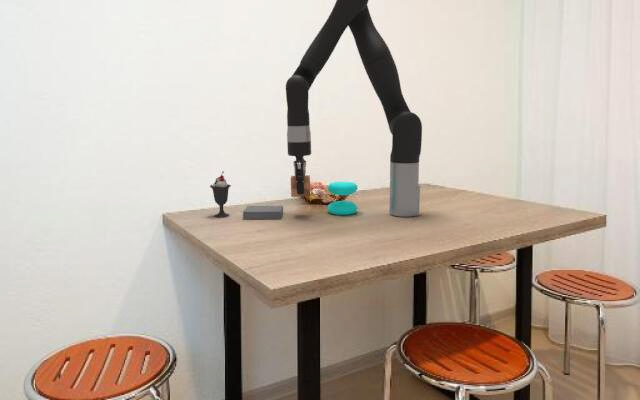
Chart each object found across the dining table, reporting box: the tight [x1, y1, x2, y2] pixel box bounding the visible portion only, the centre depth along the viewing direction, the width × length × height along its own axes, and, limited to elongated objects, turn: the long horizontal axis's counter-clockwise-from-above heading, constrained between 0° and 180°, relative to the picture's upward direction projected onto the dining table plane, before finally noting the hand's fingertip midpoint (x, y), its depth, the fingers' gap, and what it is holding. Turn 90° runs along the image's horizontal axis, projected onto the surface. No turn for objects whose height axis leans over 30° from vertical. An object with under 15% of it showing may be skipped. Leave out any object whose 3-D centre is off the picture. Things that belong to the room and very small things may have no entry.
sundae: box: [209, 170, 231, 218], centre depth 159 cm, size 7×7×15 cm
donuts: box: [327, 181, 358, 216], centre depth 162 cm, size 10×10×10 cm
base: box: [242, 205, 284, 221], centre depth 159 cm, size 12×10×3 cm
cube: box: [290, 174, 311, 198], centre depth 157 cm, size 6×6×6 cm
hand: (300, 192), depth 157 cm, fingers closed on cube, 6 cm apart
